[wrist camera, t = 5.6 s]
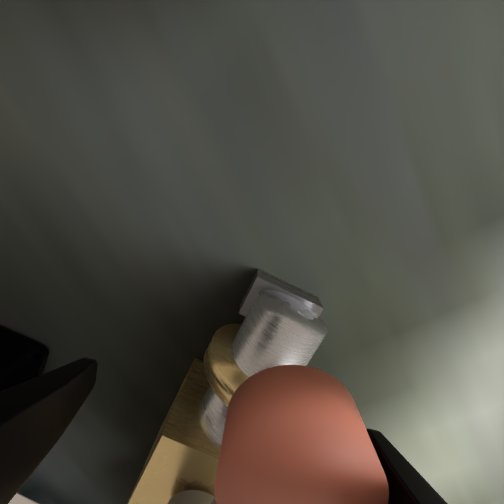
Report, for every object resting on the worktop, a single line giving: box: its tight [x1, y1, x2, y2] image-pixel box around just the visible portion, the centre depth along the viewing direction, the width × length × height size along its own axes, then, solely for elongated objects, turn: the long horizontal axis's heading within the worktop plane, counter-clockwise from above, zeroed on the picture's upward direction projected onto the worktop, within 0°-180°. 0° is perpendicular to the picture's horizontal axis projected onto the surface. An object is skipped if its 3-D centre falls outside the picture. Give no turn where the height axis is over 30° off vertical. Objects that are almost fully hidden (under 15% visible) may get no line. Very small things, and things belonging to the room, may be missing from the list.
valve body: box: [127, 269, 327, 504], centre depth 15 cm, size 20×6×6 cm, turn 154°
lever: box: [168, 365, 389, 504], centre depth 9 cm, size 12×4×4 cm, turn 150°
